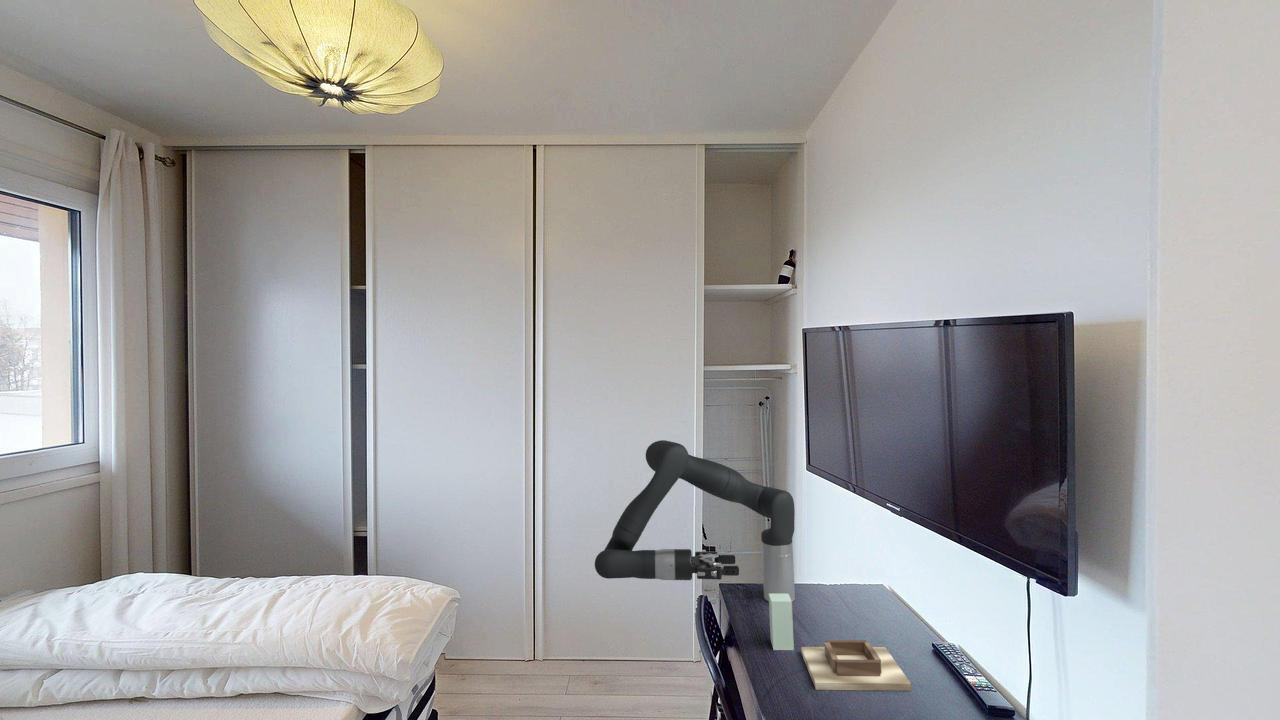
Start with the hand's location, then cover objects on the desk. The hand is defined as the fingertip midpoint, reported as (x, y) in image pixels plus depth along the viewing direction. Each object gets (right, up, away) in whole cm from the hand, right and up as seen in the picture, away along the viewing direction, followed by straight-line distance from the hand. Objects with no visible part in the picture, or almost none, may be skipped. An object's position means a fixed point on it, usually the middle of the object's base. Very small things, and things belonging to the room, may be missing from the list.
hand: (736, 564), depth 143 cm
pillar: (+11, -20, -1) cm, 23 cm away
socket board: (+24, -19, -14) cm, 34 cm away
